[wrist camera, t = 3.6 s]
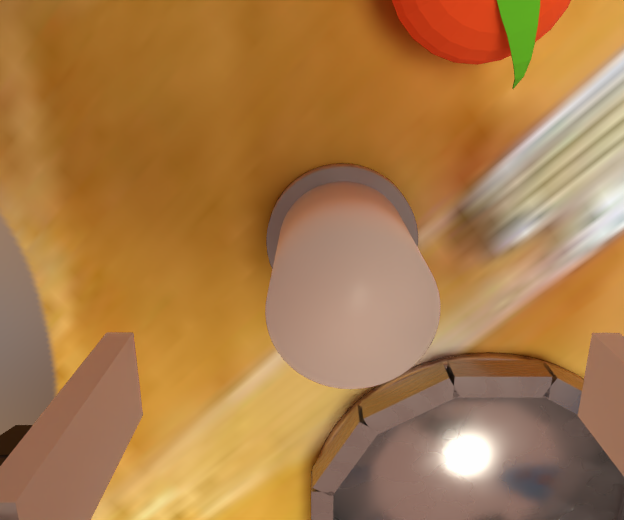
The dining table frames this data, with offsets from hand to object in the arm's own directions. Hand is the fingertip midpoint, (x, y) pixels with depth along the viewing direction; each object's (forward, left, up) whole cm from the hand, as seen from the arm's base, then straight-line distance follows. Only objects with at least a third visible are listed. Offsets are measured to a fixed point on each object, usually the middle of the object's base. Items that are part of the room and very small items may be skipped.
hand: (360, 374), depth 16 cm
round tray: (+8, -16, -12) cm, 22 cm away
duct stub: (0, 0, -12) cm, 12 cm away
